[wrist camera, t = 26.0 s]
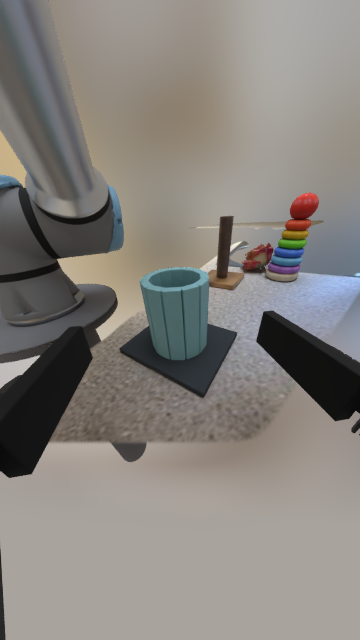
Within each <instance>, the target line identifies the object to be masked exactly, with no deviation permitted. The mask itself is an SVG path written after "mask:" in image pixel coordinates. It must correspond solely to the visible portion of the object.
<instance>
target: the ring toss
mask: <svg viewBox="0 0 360 640" xmlns="http://www.w3.org/2000/svg"><path fill="white" fill-rule="evenodd" d="M232 226H233V216H223V217H220V228H219V229H220V230H219V244H218V258H217V270H211V271H210V272H209V273H208V276H209V286H212V287H218V288H224V289H229V290H234V288H235V287H236V286H237V285H238V284H239V282H240V281H241V280H242V279H243V278H244V274H243V273H235V272H228V264H229V254H230V245H231V234H232Z"/></svg>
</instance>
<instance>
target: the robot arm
mask: <svg viewBox="0 0 360 640" xmlns="http://www.w3.org/2000/svg"><path fill="white" fill-rule="evenodd" d="M0 130H1V132H2V133H3V135H4V136H5V138H6V140H7V141H8V143H9V144H10V146H11V147H12V149H13V151H14V152H15V154H16V155H17V157H18V159H19V160H20V162H21V163H22V165H23V166H24V168H25V170H26V171H27V174H26V177H25V186H26V188H23V186H22V185H21V184H20V183H19V181H18V180H17V179H15V178H13V177H10V176H5V175H0V309H1V313H2V315H3V317H4V319H5V320H6V321H7V322H8V324H9V325H11V326H15V327H28V326H35V325H40V324H44V323H47V322H51V321H54V320H56V319H59V318H61V317H64V316H66V315H68V314H70V313H72V312H73V311H75V310H76V309H78V308H79V307H80V306H81V305H82V304H83V303H84V301H85V298H84V294H83V292H82V291H81V290H80V289H79V288H78V287H77V286H76V285H75V284H74V283H73V282H72V281H71V280H70V278H69V277H68V276H67V275H66V274H65V273H64V272H63V271H62V269H61V267H60V265H59V263H58V261H57V259H59V258H67V257H75V256H83V255H92V254H100V253H108V252H110V251H116V250H119V249H120V248H121V247H122V246H123V241H124V231H123V224H122V214H121V209H120V205H119V200H118V197H117V194H116V191H115V189H114V188H113V187H111V186H108V185H107V183H106V181H105V179H104V177H103V176H102V174H101V173H100V172H99V171H97V169H96V168H94V167H93V166H92V163H91V159H90V155H89V151H88V148H87V144H86V140H85V137H84V133H83V129H82V125H81V121H80V118H79V114H78V110H77V107H76V103H75V99H74V95H73V92H72V88H71V84H70V80H69V76H68V72H67V69H66V65H65V61H64V57H63V54H62V50H61V46H60V43H59V39H58V35H57V32H56V28H55V24H54V20H53V16H52V12H51V9H50V5H49V1H48V0H0ZM256 342H257V343H258V344H259V345H260V346H261V347H262V348H263V349H264V350H265V351H266V352H267V353H268V354H269V355H270V356H271V357H272V358H273V359H274V360H275V361H276V362H277V363H278V364H279V365H280V366H281V367H282V368H283V369H284V370H285V371H286V372H287V373H288V374H289V375H290V376H291V377H292V378H293V379H294V380H295V381H296V382H297V383H298V384H299V385H300V386H301V387H302V388H303V389H304V390H305V391H306V392H307V393H308V394H309V395H310V396H311V397H312V398H313V399H314V400H315V401H316V402H317V403H318V404H319V405H320V406H321V407H322V408H323V409H324V410H325V411H326V412H327V413H328V414H329V415H330V416H331V417H332V418H333V419H334V420H335V421H339V420H345V419H349V418H350V417H351V416H352V414H353V413H354V412H355V411H357V412H358V413H360V363H359V362H358V361H356V360H354V359H352V358H351V357H350V356H348V355H346V354H344V353H343V352H341V351H340V350H338V349H336V348H335V347H332V346H330V345H328V344H326V343H325V342H323V341H321V340H320V339H318V338H317V337H315V336H313V335H312V334H310V333H308V332H307V331H305V330H303V329H302V328H300V327H299V326H297V325H295V324H294V323H292V322H290V321H289V320H287V319H285V318H284V317H282V316H281V315H279V314H277V313H276V312H274V311H265V312H263V316H262V320H261V324H260V328H259V332H258V336H257V340H256ZM92 358H93V357H92V354H91V351H90V349H89V346H88V343H87V340H86V337H85V334H84V331H83V328H82V326H72V327H69V328H68V329H67V330H66V331H65V332H64V333H63V334H62V335H61V336H60V337H59V338H58V339H57V340H56V341H55V342H54V343H53V344H52V345H51V346H50V347H49V348H48V349H47V350H46V351H45V352H44V353H43V354H42V355H41V356H40V357H39V358H38V359H37V361H35V362H34V363H33V364H32V365H31V366H30V368H28V370H27V371H25V373H24V374H23V375H19V376H17V377H15V378H14V379H12V380H11V381H9V382H8V383H7V384H5V385H4V386H3V387H2V388H1V389H0V471H1V472H3V473H4V474H5V475H6V476H7V477H9V478H12V477H17V476H23V475H28V474H32V472H33V470H34V468H35V467H36V465H37V463H38V461H39V459H40V457H41V455H42V453H43V451H44V449H45V448H46V446H47V444H48V442H49V440H50V438H51V436H52V434H53V432H54V431H55V429H56V427H57V425H58V423H59V421H60V419H61V417H62V415H63V413H64V412H65V410H66V408H67V406H68V404H69V402H70V400H71V398H72V396H73V394H74V392H75V391H76V389H77V387H78V385H79V383H80V381H81V379H82V377H83V375H84V373H85V372H86V370H87V368H88V366H89V364H90V362H91V360H92ZM359 428H360V419H359V420H358V421H357V422H356V424H355V425H354V426H353V427H352V432H353V433H356V431H357V430H358V429H359ZM359 435H360V434H359ZM3 605H4V604H3V586H2V569H1V552H0V640H5V624H4V623H5V622H4V606H3Z"/></svg>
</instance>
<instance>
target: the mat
mask: <svg viewBox="0 0 360 640" xmlns="http://www.w3.org/2000/svg"><path fill="white" fill-rule="evenodd" d="M236 335H237V332H234V331H230V330H227V329H224V328H220V327H217V326H214V325H210V324H207V344H206V346H205V348H204V349H203V350H202V352H201V353H199V355H197V356H195V357H192V358H190V359H188V360H187V359H186V357H185V360H171V359H170V360H169V359H167V358H165V357H163V356H161V355H159V353H157V351H156V349H155V348H154V345H153V341H152V336H151V332H150V327H149V326H148V327H147V328H145V329H144V330H143V331H141V332H140V333H139V334H138V335H136V336H135V337H134V338H132V339H131V340H130V341H129V342H127V343H126V344H125V345H123V346H122V347H121V348H120V351H121V352H122V353H124V354H126V355H127V356H129V357H131V358H133V359H135V360H136V361H138V362H140V363H142V364H144V365H145V366H147V367H149V368H151V369H153V370H155V371H156V372H158V373H160V374H162V375H164V376H165V377H167V378H169V379H171V380H173V381H174V382H176V383H178V384H180V385H182V386H184V387H185V388H187V389H189V390H191V391H193V392H194V393H196V394H198V395H200V396H202V397H204V396H205V394H206V392H207V390H208V388H209V386H210V384H211V383H212V381H213V379H214V377H215V375H216V373H217V371H218V369H219V368H220V366H221V364H222V362H223V360H224V358H225V356H226V355H227V353H228V351H229V349H230V347H231V345H232V343H233V341H234V340H235V338H236Z"/></svg>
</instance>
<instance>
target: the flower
mask: <svg viewBox="0 0 360 640" xmlns="http://www.w3.org/2000/svg"><path fill="white" fill-rule="evenodd" d="M269 247H270V248H269ZM272 253H273V247H271V245H270V244H269V243H268V244H266V245H265V246H264V245H262V244H261V245H260V246H259V247H257V248H254V249H253V250H251V251H250V252H248V253H247V254H245V255H247V257H246V259H247V260H245V261H243V262H242V264H244V265H243V267H244V268H245V269H246V270H252V269H256V268H262V271H263V272H264V271H266V269H265V267H264V265H265V266H266V265H268V264H269V262H270V260H271V257H272Z"/></svg>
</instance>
